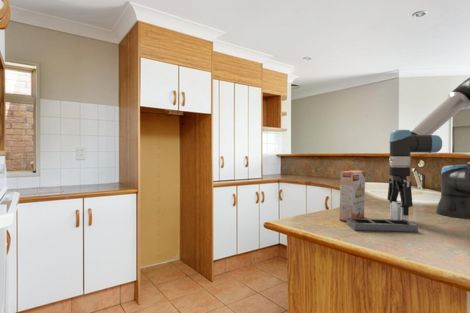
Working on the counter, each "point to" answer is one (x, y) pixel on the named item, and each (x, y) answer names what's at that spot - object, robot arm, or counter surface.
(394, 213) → the block
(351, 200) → the cracker box
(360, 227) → the grey compartment tray
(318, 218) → the counter surface
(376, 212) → the counter surface
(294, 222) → the counter surface
